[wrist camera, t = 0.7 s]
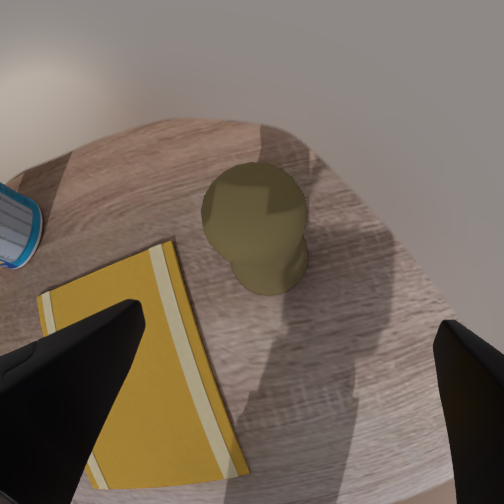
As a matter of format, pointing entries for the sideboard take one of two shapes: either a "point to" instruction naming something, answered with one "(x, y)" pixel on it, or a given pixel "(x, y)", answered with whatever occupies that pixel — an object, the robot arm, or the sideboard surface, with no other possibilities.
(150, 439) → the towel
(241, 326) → the sideboard surface
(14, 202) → the blue plastic jar
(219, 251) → the cork
